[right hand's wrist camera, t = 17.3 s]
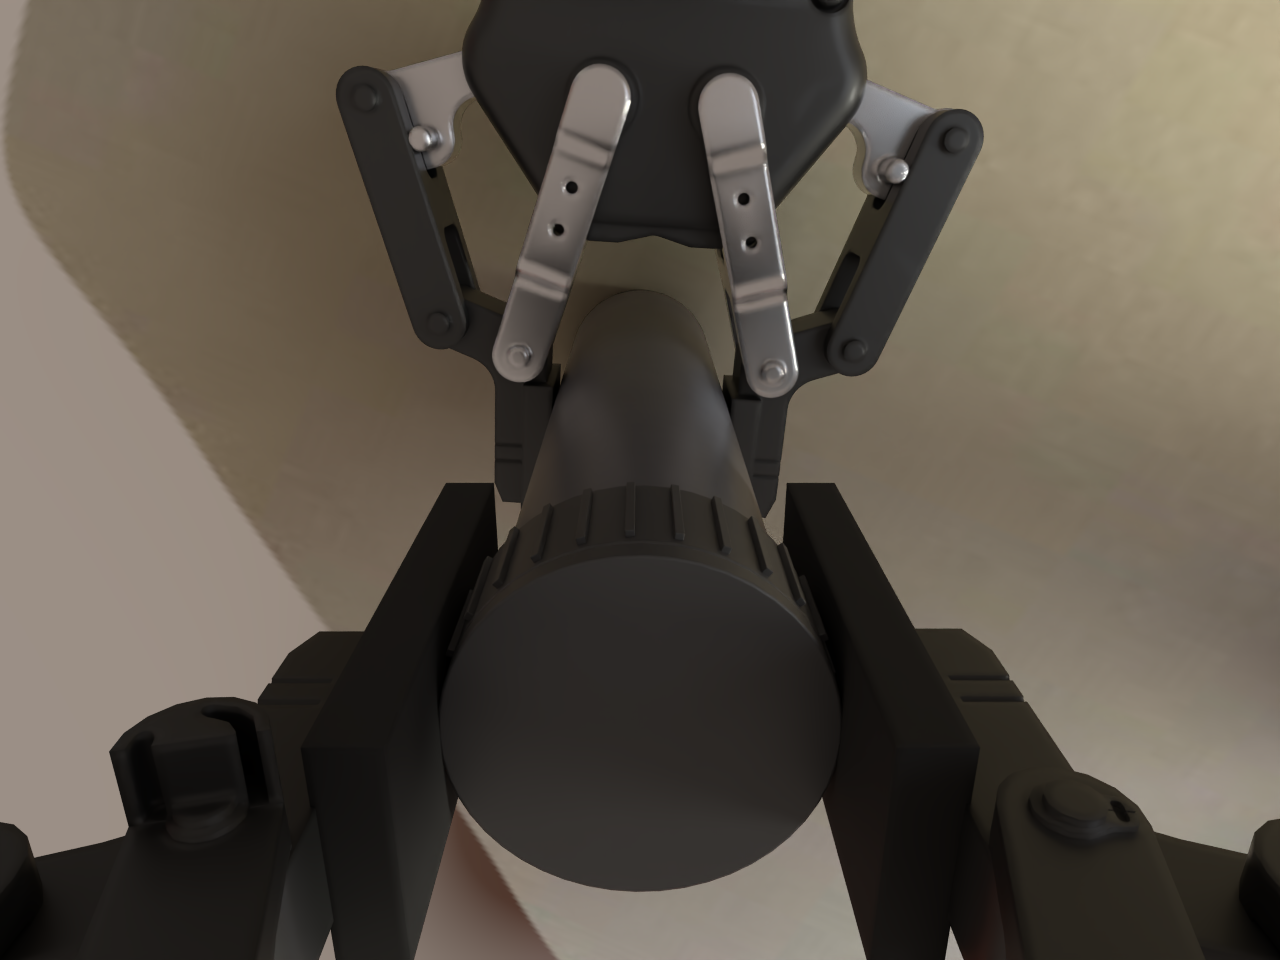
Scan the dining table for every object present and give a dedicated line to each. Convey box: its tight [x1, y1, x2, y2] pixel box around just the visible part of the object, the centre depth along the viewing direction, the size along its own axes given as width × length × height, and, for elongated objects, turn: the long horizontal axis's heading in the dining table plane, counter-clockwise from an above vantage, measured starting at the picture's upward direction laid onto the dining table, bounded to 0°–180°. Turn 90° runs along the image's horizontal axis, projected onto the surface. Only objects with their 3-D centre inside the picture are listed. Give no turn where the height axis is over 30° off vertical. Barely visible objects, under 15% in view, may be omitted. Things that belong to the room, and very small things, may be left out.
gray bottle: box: [516, 290, 767, 533], centre depth 19 cm, size 4×4×18 cm
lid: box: [438, 482, 842, 892], centre depth 11 cm, size 5×5×2 cm
